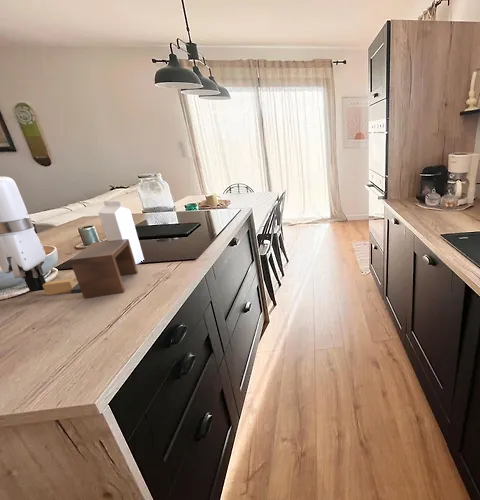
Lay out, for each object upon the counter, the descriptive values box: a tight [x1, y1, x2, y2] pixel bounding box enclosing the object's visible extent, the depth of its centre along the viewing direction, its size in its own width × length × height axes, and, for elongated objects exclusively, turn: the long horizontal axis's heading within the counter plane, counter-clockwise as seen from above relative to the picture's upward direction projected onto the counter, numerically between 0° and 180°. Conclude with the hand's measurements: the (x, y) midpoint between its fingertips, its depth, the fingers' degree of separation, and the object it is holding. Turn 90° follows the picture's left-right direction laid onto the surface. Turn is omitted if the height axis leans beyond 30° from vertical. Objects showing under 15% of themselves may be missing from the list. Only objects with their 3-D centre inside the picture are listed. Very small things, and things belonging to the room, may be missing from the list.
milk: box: [98, 200, 145, 265], centre depth 97 cm, size 6×6×22 cm
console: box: [69, 239, 139, 300], centre depth 84 cm, size 9×15×12 cm, turn 22°
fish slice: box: [42, 277, 82, 296], centre depth 82 cm, size 12×5×3 cm, turn 112°
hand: (39, 289), depth 80 cm, fingers closed
